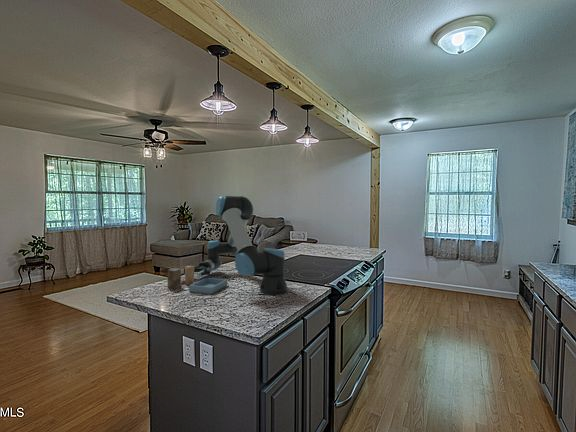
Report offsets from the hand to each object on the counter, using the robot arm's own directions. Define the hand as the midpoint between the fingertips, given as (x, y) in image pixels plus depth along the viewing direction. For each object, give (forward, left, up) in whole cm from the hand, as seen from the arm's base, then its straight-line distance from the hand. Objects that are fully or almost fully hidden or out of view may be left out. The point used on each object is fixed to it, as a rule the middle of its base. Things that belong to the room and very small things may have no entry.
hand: (187, 274), depth 183 cm
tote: (-16, +4, -6) cm, 18 cm away
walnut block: (+4, +7, -6) cm, 10 cm away
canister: (0, -2, -6) cm, 6 cm away
